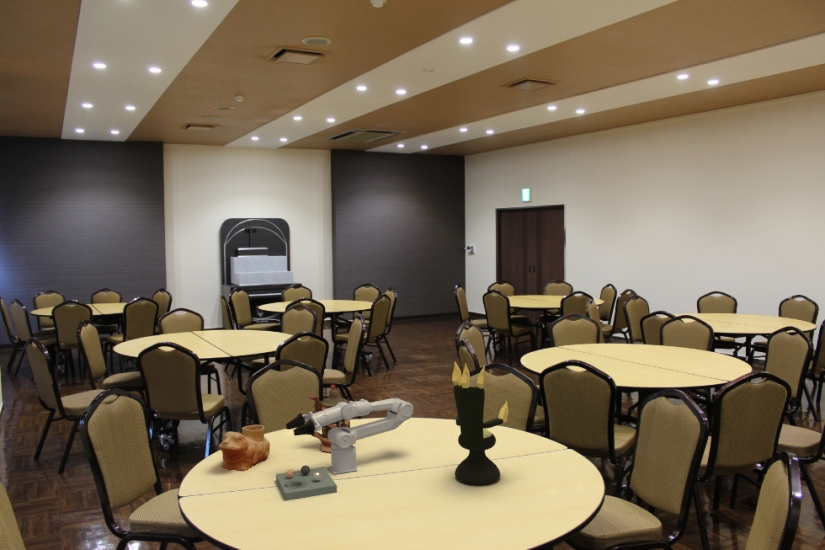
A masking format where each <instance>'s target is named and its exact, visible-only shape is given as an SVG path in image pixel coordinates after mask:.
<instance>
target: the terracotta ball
mask: <svg viewBox="0 0 825 550" xmlns="http://www.w3.org/2000/svg"><path fill="white" fill-rule="evenodd" d="M285 473H286V474H285V475H286V477H287V478H292V477H293V475H294V470H292V469H288V470H286V471H285Z"/></svg>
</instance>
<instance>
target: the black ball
mask: <svg viewBox="0 0 825 550" xmlns="http://www.w3.org/2000/svg"><path fill="white" fill-rule="evenodd" d="M310 469H311V468H310V466H309V465H308V464H307V465H306V464H305V465H302V466H301V468H300V471H301V473H302V474H303V475H307V474H308V473H309V472H310Z"/></svg>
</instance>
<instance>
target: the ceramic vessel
mask: <svg viewBox="0 0 825 550" xmlns="http://www.w3.org/2000/svg"><path fill="white" fill-rule="evenodd" d="M265 429H266V428H265V426H264V425H262V424H251V425H245V426H243V427H242V428H241V432H235V431H227V432H225V433H224V435H223V438H222V442H220V444H218V449H219V450H220V451H221V452H222V463H221V469H222V468H223V470H226V469H227V471H231V470H236V471H235V472H246V471H245V470H247V471H249V470H250V469H251V468H253V467H255V466H257V465H259V464H260V462H261V463H263V462H265V461H267V460H268V457H269V455H270V453H271V443H270V441H269V440H268V438H265ZM266 459H267V460H266ZM262 461H263V462H262ZM258 463H259V464H258ZM256 464H257V465H256ZM252 466H253V467H252ZM249 468H250V469H249ZM248 469H249V470H248Z"/></svg>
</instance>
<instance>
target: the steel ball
mask: <svg viewBox="0 0 825 550" xmlns="http://www.w3.org/2000/svg"><path fill="white" fill-rule="evenodd" d="M312 478H313V480H314V481H319V480H320V479H321V474H320V473H319V472H315V473H314V474H313V476H312Z"/></svg>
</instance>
